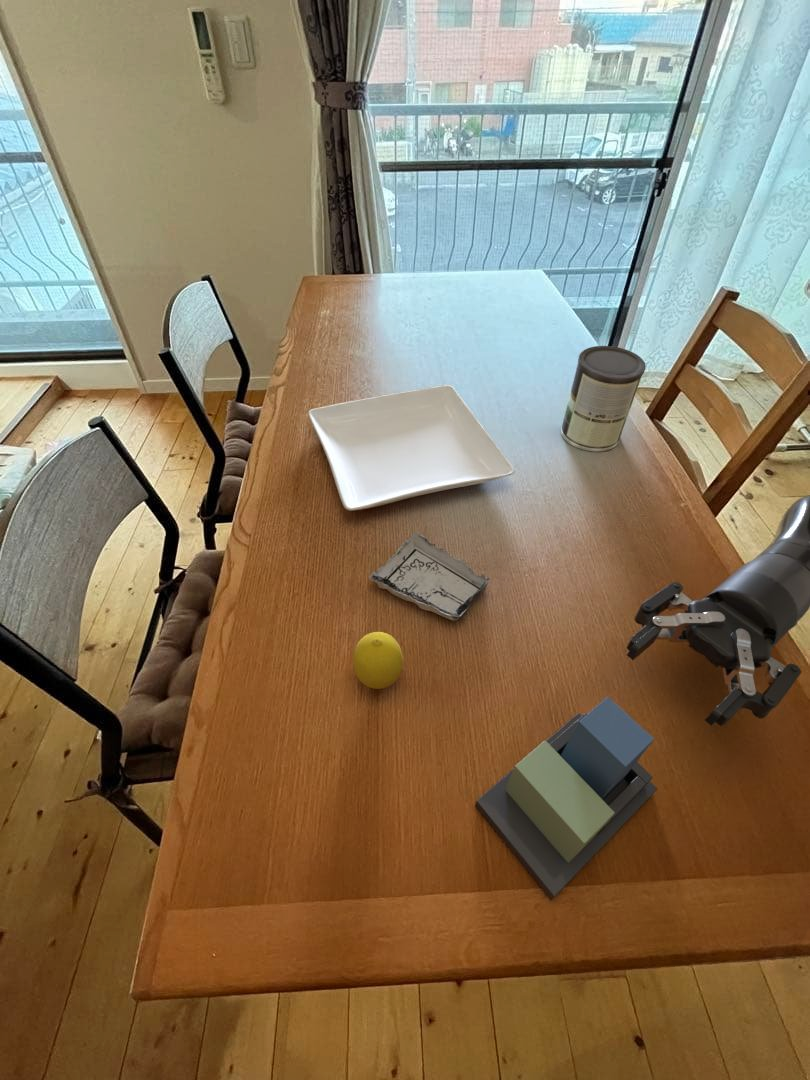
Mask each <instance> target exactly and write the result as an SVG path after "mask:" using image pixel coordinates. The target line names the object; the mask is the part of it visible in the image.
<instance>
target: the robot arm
mask: <svg viewBox="0 0 810 1080" xmlns="http://www.w3.org/2000/svg"><path fill="white" fill-rule="evenodd" d="M683 590H684V586H683V584H682V583H680V582H678V581H673V582H671V583H670V584H668V585H667V586H665V587H664V588H662V589H660V590H659V591H657V592H656V593H655V594H653V595H652V596H650V597H649V598H647V599H645V600H644V601H643V602H642V603H641V604H640V607H639V608H638V611H637V612H636V613H635V616H634V617H633V618H634V619H633V620H634V622H635V623H636V624H638V625H641V626H642V628H640V629H639V630H638V631H637V632H636V633H635V634H634V635H633V636H631V638H630V639H629V641H628V643H627V646H626V649H627V650H628V652H627V654H626V656H627V657H628V658H629V659H630V660H632V661H634V660H636V659H637V658H638V657H639V656H640V655H642V653H644V652H645V651H646V650H647V649H649V648H650V647H651V646H652V645H653V644H654V643H655V642H656V640H657V641H658V640H659V641H661V640H664V641H665V640H667V641H669V642H670V643H688V644H689V645H688V647H689V648H690V649H692V650H693V651H695V652H696V653H698V654H699V655H701V656H703V657H704V658H705V659H706V660H707V661H708V662H709V663H710V664H711V665H712V666H714V667H715V668H718V667H720V668H722V673H723V679H724V685H725V686H727V688H728V689H727V690H728V694H727V696H726V697H724V699H723V700H722V701H720V702H719V704H718V705H717V706H716V707H715V708H714V709H713V710H712V711H711V712H710V713H709V714H708V716H707V717H706V718H705V719H704V722H706V723H707V724H708V725H709V726H710V727H712V726H713V725H714V724H715V723H716V724H717V725H718V726H720V727H722V726H725V725H727V724H728V723H729V721H730V720H731V719H732V718H733V717H734V716H735V715H736V714H737V713H738V712H739V711H740V710H741V709H746V710H748V711H751V713H752V714H753V716H755V717H756V718H757V719H761V720H762V719H765V718H766V717H768V715H769V713H770V712H771V711H773V710H774V709H775V708H776V707H777V706H779V705H780V703H781V701H782V700H783V699H784V697H785V696H786V694H787V693H788V692H789V690H790V689H791V688H792V686H793V685H794V684H795V682H796V681H797V679H799V677H800V675H801V674H802V670H801V668H800V667H799V666H798V665H797V664H795V663H788V664H787V665H784V664H783V663H781V662H780V661H779V660H777V659H776V658H774V657H772V649H773V647H775V646H776V645H777V644H778V643H779V641H780V640H782V639H783V637H784V636H786V635H787V633H788V632H789V631H790V630H791V629H793V628H794V627H796V626H797V624H798V622H800V620H801V619H802V618H803V617H804V616H805V615H806V614H807V612H808V610H810V494H809V495H808V494H807V495H806V496H802V497H800V498H798V499H797V500H796V501H795V502H793V503H792V504H791V505H790V506H789V507H788V509H786V511H785V512H784V514H783V516H782V518H781V520H780V521H779V524H778V525H777V529H776V531H775V535H774V537H773V540H772V541H771V542H770V544H769V545H767V547H766V548H765V549H764V550H763V551H761V552H760V553H759V554H758V555H757V556H755V557H754V558H753V559H751V560H750V561H747V562H746V563H744V564H743V565H741V566H740V567H739V568H737V569H736V570H735V571H734V572H733V573H732V574H731V575H729V576H728V577H727V578H726V579H725V580H724V581H722V582H721V583H720V584H719V585H718V586H716V587H715V588H714V589H713V590H712V591H711V592H710V593H709V594H707V595H706V596H704V598H701V599H696V600H692V599H691V598H690V597H688V596H687V595H686V594H685V593H683V592H682V591H683ZM677 609H680V610H683V611H684V612H678V613H676V614H674V615H660V614H662V613H663V612H664V611H669V612H672V611H673V610H675V611H676V610H677ZM759 668H763V669H764V670H765V675H764V677H765V679H766V680H765V683H766V684H767V685H768V687H767V688H766V689H765V690H764V692H763V693H761V692H759V691H757V689H756V684H755V679H754V674H755V673H754V672H755V669H759Z"/></svg>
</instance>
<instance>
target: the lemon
mask: <svg viewBox="0 0 810 1080" xmlns="http://www.w3.org/2000/svg"><path fill="white" fill-rule="evenodd" d="M352 655H353V656H352V667H353V671H354V673H355V675H356V678H357V679H358V680H359V681H360V683H362V684H363V685H364V686H365V687H368V688H370V689H374V690H383V689H385V688H388V687H390V686H392V685H393V684H394V683H395V682H396V681H397V680H398V679H399V677H400V676H401V673H402V671H403V666H404V655H403V651H402V649H401V646H400V644H399V643H398V641H397V640H396V639H395V637H393V636H392V635H391V634H389V633H387V632H382V631H373V632H369V633H367V634H365V635H364V636H363V637H361V638H360V640H359V641H358V642H357V643H356V646H355V647H354V650H353V654H352Z"/></svg>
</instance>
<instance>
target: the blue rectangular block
mask: <svg viewBox="0 0 810 1080" xmlns="http://www.w3.org/2000/svg"><path fill="white" fill-rule="evenodd" d="M586 714H587V715H586V716H585V717H583V718H582V719H581V720H580V721H579V722H578V724H577V726H576V728H575V730H574V732H573V734H572V735H571V737H570V739H569V741H568V743H567V745H566V747H565V749H564V751H563V752H562V754H561V757H562V758H563V759H564V760H565V761H566V762H567V763H568V764H569V765H570V767H571V768H572V769H573V770H574V771H575V772H576V773H577V774H578V775H579V776H580V777H581V778H582V779H583V780H584V781H585V782H586V783H587V784H588V785H589V786H590V787H591V788H592V789H593V790H594V791H595V792H596V794H597V795H598V796H599V797H600V798H601V799H602V800H603V799H604V798H605V797H606V796H607V795H608V794H609V793H610V792H611V791H612V790H613V789H614V788H615V787H616V786H618V785H619V784H620V783H621V781H622V780H623V779H624V777H625V776H626V775H627V774H628V772H629V771H630V770H631V768H632V767H633V766H634V765H635V763H636V762H638V761H639V760H640V758H641V757H642V756H643V755H644V753H645V752H646V751H647V750H648V748H649V747H651V746H650V745H652V743H653V742H654V741H655V738H654V737H653V736H652V735H651V734H650V733H649V732H648V731H646V730H645V729H644V727H642V726H641V725H640V724H639V723H638V722H637V721H636V720H634V719H633V718H632V717H631V716H630V715H629V714H628V713H626V711H624V709H622V708H621V707H620V706H619V705H618V704H617V703H616V702H615V701H614V700H612V698H610V696H606V697H605V698H604V699H603V700H602V701H601V702H599V703H598V704H597V705H596V706H595V707H594V708H592V709H591V710H590V711H589V712H588V713H586Z"/></svg>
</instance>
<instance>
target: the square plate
mask: <svg viewBox="0 0 810 1080" xmlns="http://www.w3.org/2000/svg"><path fill="white" fill-rule="evenodd" d="M307 413H308V417H309V420H310V423H311V425H312V426H313V429H314V431H315V433H316V435H317V437H318V440H319V441H320V444H321V446H322V449H323V452H324V454H325V456H326V459H327V461H328V464H329V467H330V470H331V474H332V477H333V480H334V483H335V486H336V489H337V492H338V496H339V499H340V501H341V504H342V507H343V508H344V509H345V510H346V511H361V510H366V509H371V508H376V507H379V506H385V505H388V504H391V503H392V504H393V503H395V502H398V501H403V500H406V499H410V498H415V497H418V496H423V495H427V494H433V493H437V492H441V491H447V490H452V489H457V488H462V487H468V486H472V485H479V484H483V483H487V482H491V481H496V480H499V479H502V478H505V477H508V476H512V475H514V474H515V472H516V471H515V468H514V467H513V465H512V464H511V462H510V461H509V460H508V458H507V456H506V455H505V454H504V453H503V451H502V450H501V449H500V447H499V446H498V445H497V443H495V441H494V440H493V438H492V437H491V436H490V434H489V433H488V432H487V430H486V429H485V428H484V427H483V425H482V423H480V421H479V420H478V419H477V417H476V416H475V414H474V413H473V411H472V410H471V409H470V408H469V405H468V404H467V403H466V402H465V401H464V399H463V398H462V397H461V395H460V393H459V392H458V391H457V390H456V389H455V388H454V386H453V385H451V384H443V385H436V386H431V387H425V388H418V389H411V390H406V391H400V392H394V393H388V394H384V395H378V396H372V397H366V398H362V399H357V400H356V399H355V400H350V401H346V402H340V403H335V404H329V405H325V406H320V407H315V408H311V409H309V410H308V411H307Z"/></svg>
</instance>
